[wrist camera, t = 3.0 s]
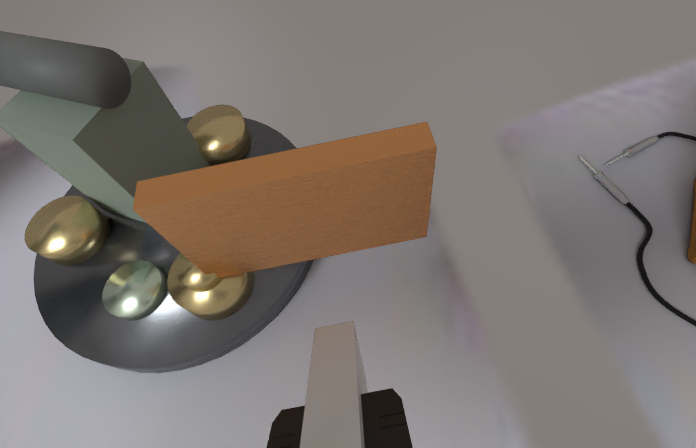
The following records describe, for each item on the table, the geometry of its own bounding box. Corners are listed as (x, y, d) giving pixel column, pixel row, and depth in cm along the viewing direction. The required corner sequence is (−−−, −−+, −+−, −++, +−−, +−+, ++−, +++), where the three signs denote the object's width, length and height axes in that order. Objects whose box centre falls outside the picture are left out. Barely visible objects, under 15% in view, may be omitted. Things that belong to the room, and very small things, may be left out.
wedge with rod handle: (92, 205, 29) (-77, 72, 19) (139, 145, 31) (14, 0, 21) (179, 233, 26) (40, 99, 16) (222, 166, 29) (126, 15, 19)
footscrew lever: (182, 327, 22) (56, 257, 14) (186, 260, 25) (80, 166, 17) (431, 278, 22) (448, 178, 14) (412, 214, 24) (417, 96, 16)
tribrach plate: (-2, 313, 27) (-60, 293, 24) (158, 114, 36) (133, 79, 33) (238, 425, 22) (207, 420, 18) (359, 158, 30) (353, 120, 27)
